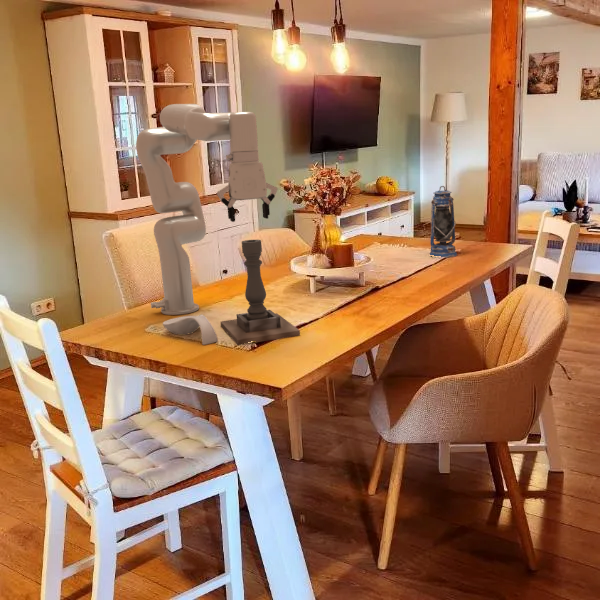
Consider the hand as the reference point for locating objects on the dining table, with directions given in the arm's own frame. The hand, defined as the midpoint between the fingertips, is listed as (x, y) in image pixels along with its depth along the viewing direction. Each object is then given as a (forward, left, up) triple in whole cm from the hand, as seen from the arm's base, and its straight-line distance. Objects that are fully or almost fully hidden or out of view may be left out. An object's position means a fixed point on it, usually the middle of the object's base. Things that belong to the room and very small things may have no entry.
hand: (249, 219), depth 195 cm
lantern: (+104, +73, -33) cm, 131 cm away
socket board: (0, 0, -33) cm, 33 cm away
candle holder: (0, 0, -31) cm, 31 cm away
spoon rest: (-18, +5, -33) cm, 38 cm away
